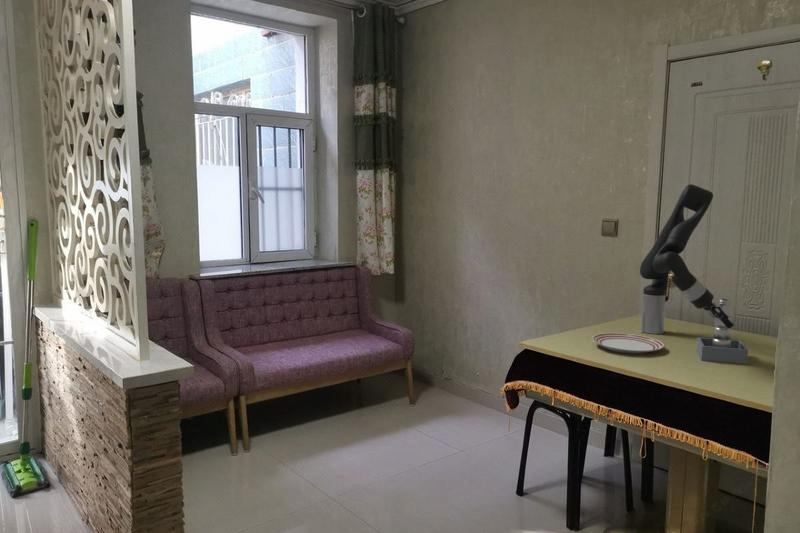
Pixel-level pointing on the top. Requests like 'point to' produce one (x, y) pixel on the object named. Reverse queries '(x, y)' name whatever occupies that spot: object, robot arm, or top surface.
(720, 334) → the plastic bottle
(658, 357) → the top surface
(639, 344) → the dinner plate
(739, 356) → the tray
